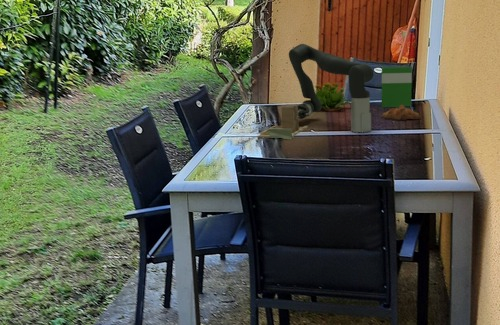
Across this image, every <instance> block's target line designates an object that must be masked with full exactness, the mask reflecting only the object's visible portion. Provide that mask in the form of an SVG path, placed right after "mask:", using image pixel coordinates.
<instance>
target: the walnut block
mask: <svg viewBox="0 0 500 325" xmlns="http://www.w3.org/2000/svg"><path fill="white" fill-rule="evenodd" d="M298 105H299V104H285V105H283V106H281V126H282V129H292V133H294V132H296V131H298V130H299V127H300V123H299V119H298Z"/></svg>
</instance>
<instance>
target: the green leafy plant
mask: <svg viewBox="0 0 500 325" xmlns="http://www.w3.org/2000/svg"><path fill="white" fill-rule="evenodd" d="M314 86H315V87H314V88H316V89H315V93H316V95H317V97H318V98H319V100H320V102H321V108H323V109H324V111H327V112H336V111H340V110H341V107H340V106H345V105H348V104H351V100H345V94H344V93H343V92H344V91H345V86H343V87H341V88H340V89H339V86H340V84H339V83H338V82H332V83H330V82H329V81H328V82H324V83H323V84H322V85H320V84H316V85H314ZM338 89H339V91H338ZM337 91H338V92H337Z"/></svg>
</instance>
